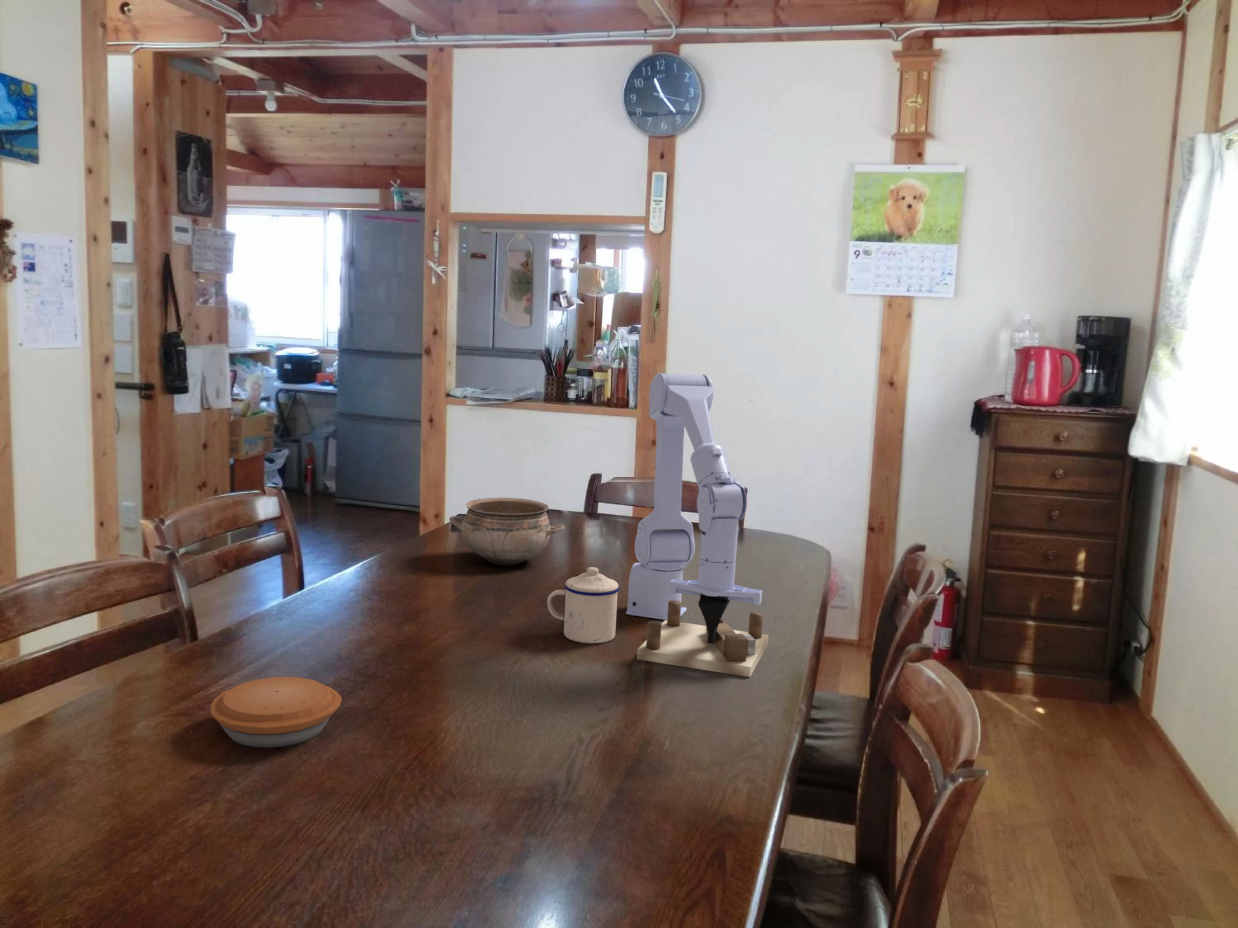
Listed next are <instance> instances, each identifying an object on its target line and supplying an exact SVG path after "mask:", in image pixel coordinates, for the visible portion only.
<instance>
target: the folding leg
mask: <svg viewBox="0 0 1238 928" xmlns="http://www.w3.org/2000/svg"><path fill="white" fill-rule="evenodd" d="M705 626H706V625H705ZM733 630H734V629H733V628H732V627H731V626H730V625H729V624H728V623H727V621H725V619H724V618H723V616H722V617H721V620H720V622H719V625H718V628H717V636H716V641H715V642H714V644H715V645H716V646H717V648H718V649H719V650H720V651H721V653H722V654H723V655H724V656H725V658H726V659H727V660H728V661H746V653H747V638H746V637H745V636H744V635H743V634H736V633H735V632H734V631H733ZM706 633H707V635H708V630H707V626H706Z"/></svg>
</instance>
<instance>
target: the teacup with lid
mask: <svg viewBox="0 0 1238 928" xmlns="http://www.w3.org/2000/svg"><path fill="white" fill-rule="evenodd" d="M599 571H600V569H599V568H598V567H595V566H594V567H593V566H590V567H588V568H586V572H584V573H581V574H579V575H578V576H573V577H571V578H568V579H567V580H566V581H565V584H564V588H565V589H556V590H554V591H552V592H551V593H549V595H548V596H547V600H546V604H547V609H548V611H549V613H550V614H551V615H552V616H553V617H554V618H556V619H558V620H561V621H564V622H563V625H564V626H563V635H564V636H565V637H566V638H567V639H568V640H571V641H573V642H577V643H583V644H603V643H606V642H610V641H612V640H613V639H614V638H615V637H616V627H617V608H618V592H619V590H620V586H619V583H618V582H617V581H616V580H614V579H613V578H609V577H607V576H605V575H604V574H602V573H599ZM557 595H558V596H565V597H564V600H565V601H564V603H565V604H564V614H561V613H558V612H557V611H556V609H555V608H554V605H553V598H554V597H555V596H557Z"/></svg>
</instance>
